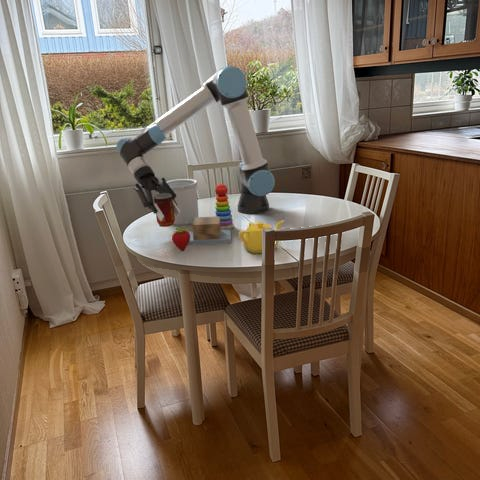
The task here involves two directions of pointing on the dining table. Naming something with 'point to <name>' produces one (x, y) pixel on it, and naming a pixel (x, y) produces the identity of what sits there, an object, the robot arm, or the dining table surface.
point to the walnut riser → (206, 228)
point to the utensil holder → (185, 200)
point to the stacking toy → (223, 207)
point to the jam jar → (165, 209)
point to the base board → (224, 238)
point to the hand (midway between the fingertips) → (170, 216)
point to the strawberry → (181, 238)
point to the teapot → (255, 236)
